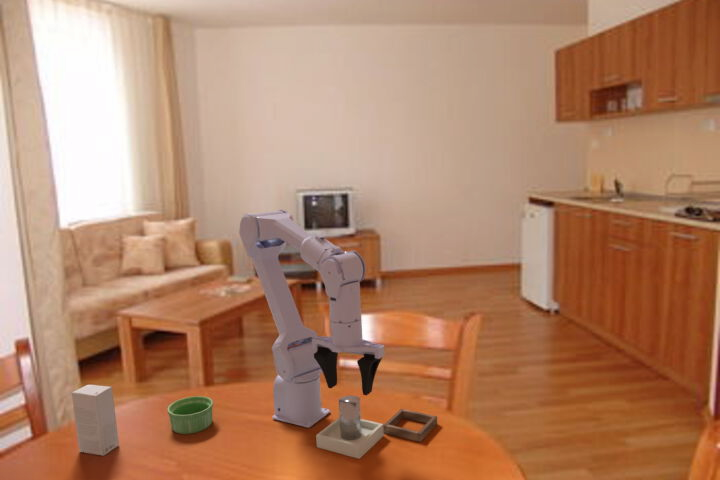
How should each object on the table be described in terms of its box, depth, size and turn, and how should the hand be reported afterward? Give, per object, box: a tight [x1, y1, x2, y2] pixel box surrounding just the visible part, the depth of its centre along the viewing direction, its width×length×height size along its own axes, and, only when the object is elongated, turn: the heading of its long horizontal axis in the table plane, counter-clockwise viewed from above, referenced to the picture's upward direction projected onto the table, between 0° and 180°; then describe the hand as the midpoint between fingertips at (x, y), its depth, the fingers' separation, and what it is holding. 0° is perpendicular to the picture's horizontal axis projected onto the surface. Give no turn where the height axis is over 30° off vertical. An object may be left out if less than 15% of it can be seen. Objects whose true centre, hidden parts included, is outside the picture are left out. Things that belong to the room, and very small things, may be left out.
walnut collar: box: [383, 408, 438, 443], centre depth 111 cm, size 8×8×2 cm
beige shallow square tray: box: [315, 416, 385, 460], centre depth 106 cm, size 9×9×2 cm
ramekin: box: [167, 395, 214, 435], centre depth 116 cm, size 9×9×4 cm
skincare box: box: [71, 384, 120, 456], centre depth 107 cm, size 6×4×12 cm
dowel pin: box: [338, 394, 362, 440], centre depth 106 cm, size 4×4×7 cm
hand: (349, 389), depth 105 cm, fingers open, 7 cm apart
